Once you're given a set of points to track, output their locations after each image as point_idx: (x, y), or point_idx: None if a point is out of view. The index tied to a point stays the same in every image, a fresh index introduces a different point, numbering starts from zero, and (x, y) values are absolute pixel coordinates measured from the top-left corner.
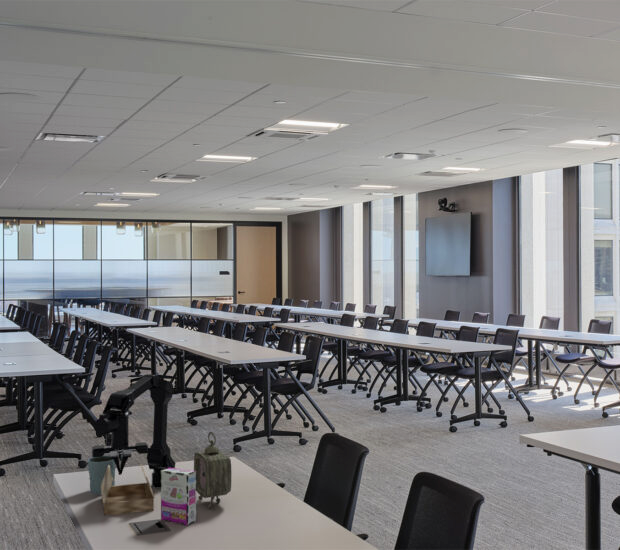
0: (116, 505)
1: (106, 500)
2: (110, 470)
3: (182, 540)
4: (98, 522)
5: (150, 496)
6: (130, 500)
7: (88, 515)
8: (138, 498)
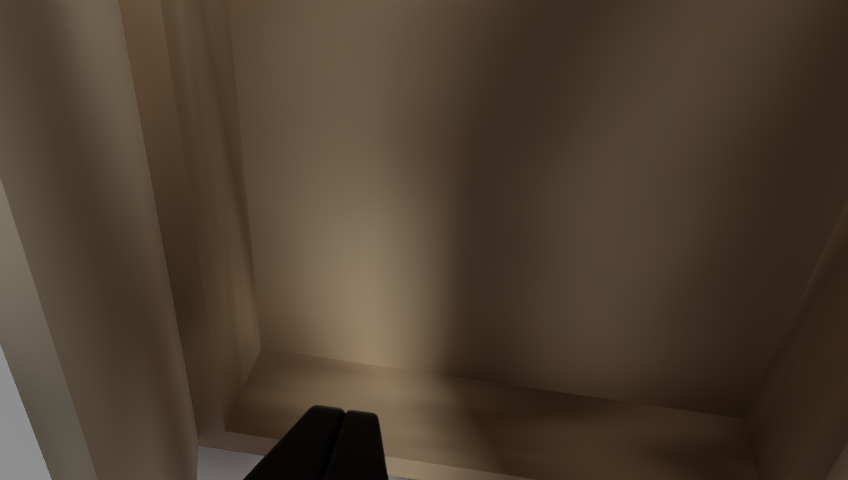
0: None
1: (212, 368)
2: (22, 292)
3: None
4: (199, 455)
5: (799, 463)
6: (502, 478)
7: None
8: (770, 13)
